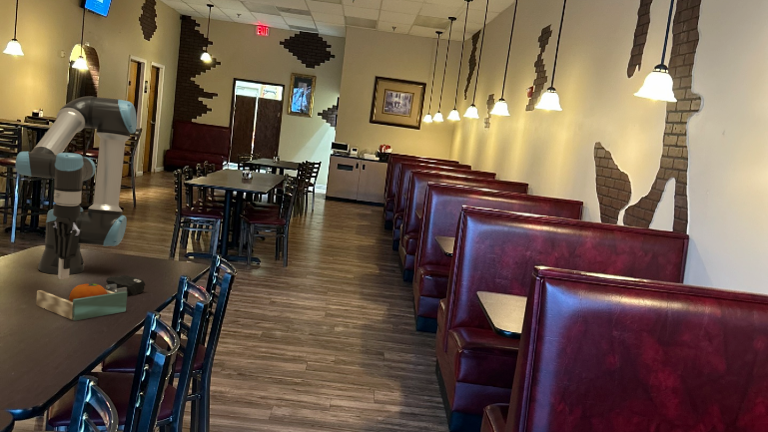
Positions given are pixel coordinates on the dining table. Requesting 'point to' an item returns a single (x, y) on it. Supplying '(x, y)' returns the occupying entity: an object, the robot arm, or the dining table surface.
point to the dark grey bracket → (113, 288)
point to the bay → (83, 305)
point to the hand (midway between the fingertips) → (63, 278)
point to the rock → (127, 283)
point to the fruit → (86, 291)
